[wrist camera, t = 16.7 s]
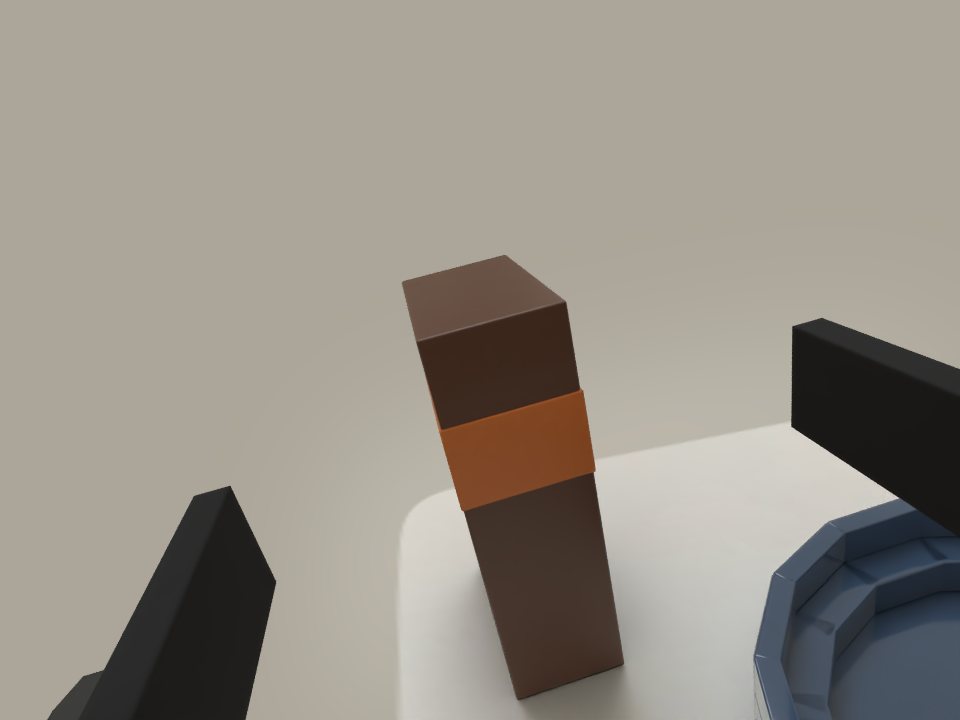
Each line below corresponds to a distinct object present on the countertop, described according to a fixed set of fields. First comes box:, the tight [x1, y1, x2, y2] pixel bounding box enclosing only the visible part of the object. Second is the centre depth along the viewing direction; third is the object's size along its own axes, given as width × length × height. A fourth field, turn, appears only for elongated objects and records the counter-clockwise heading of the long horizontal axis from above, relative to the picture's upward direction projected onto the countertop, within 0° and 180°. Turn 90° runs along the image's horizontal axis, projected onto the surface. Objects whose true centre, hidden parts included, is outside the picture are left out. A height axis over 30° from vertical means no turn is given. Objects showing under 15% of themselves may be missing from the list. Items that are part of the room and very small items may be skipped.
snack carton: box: [402, 255, 624, 699], centre depth 17 cm, size 4×6×12 cm, turn 11°
